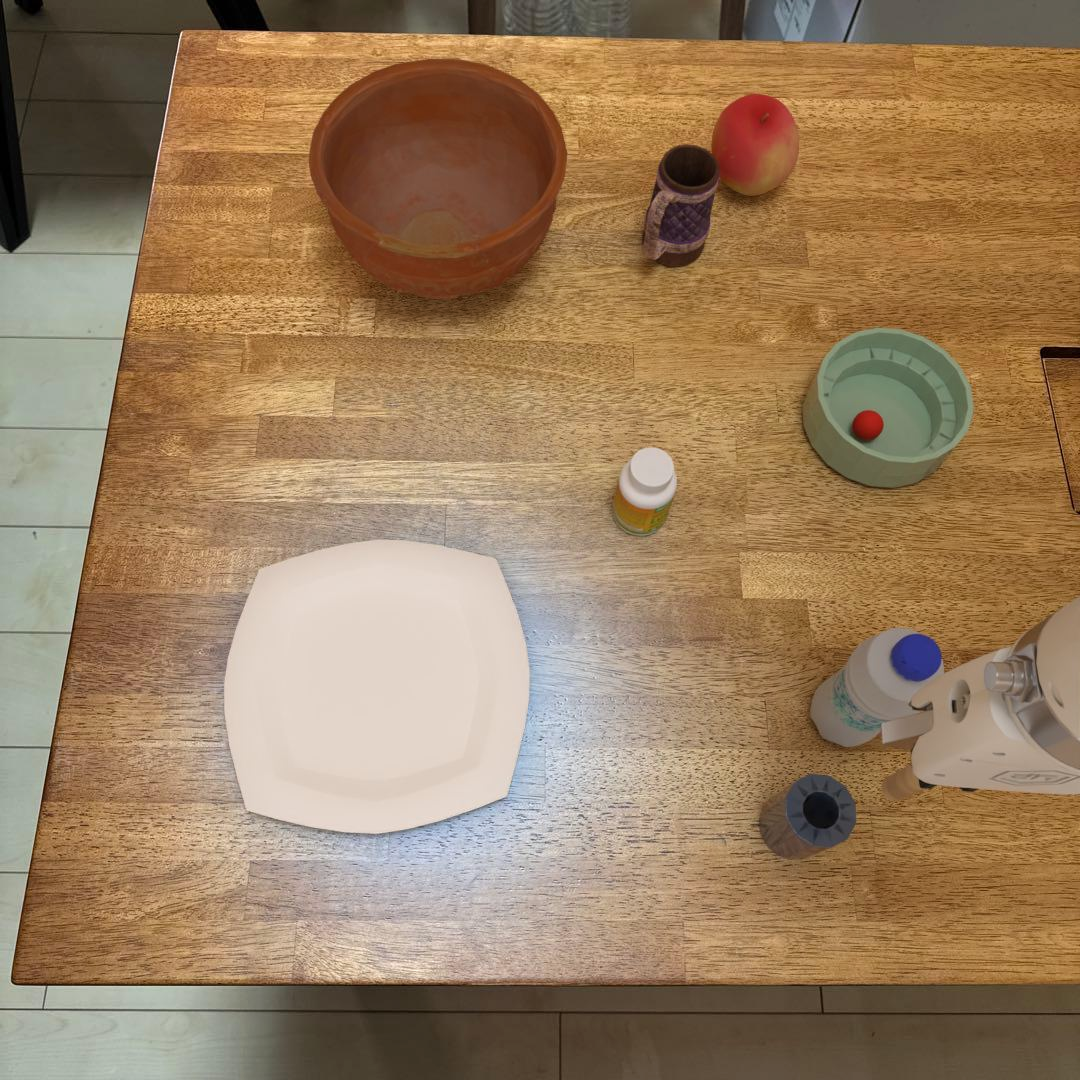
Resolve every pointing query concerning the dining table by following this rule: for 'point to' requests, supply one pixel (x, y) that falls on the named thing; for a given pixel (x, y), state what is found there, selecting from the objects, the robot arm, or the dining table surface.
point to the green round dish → (887, 406)
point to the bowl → (439, 174)
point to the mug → (680, 206)
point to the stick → (901, 785)
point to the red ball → (867, 425)
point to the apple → (755, 144)
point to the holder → (808, 817)
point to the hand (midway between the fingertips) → (943, 764)
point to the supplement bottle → (645, 492)
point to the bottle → (875, 685)
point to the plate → (376, 687)
